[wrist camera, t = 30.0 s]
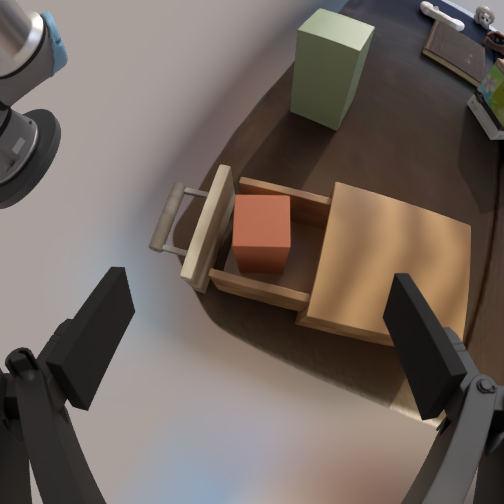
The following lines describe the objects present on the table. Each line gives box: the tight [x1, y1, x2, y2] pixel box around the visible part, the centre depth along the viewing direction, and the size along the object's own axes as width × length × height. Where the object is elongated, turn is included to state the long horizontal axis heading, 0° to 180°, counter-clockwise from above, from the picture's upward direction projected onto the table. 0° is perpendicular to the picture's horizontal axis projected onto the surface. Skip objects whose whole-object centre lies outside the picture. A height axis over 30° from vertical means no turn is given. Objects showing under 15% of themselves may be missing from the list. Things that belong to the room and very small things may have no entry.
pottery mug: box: [484, 31, 504, 55], centre depth 53 cm, size 12×10×8 cm
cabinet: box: [295, 182, 471, 347], centre depth 33 cm, size 17×14×10 cm
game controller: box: [420, 1, 464, 31], centre depth 56 cm, size 14×4×10 cm
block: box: [232, 195, 290, 273], centre depth 32 cm, size 5×5×10 cm
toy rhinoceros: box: [474, 6, 495, 29], centre depth 56 cm, size 7×12×8 cm, turn 143°
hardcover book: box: [422, 20, 485, 89], centre depth 52 cm, size 16×23×2 cm
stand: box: [290, 9, 375, 131], centre depth 38 cm, size 8×8×16 cm
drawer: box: [149, 164, 331, 312], centre depth 34 cm, size 21×13×8 cm, turn 74°
